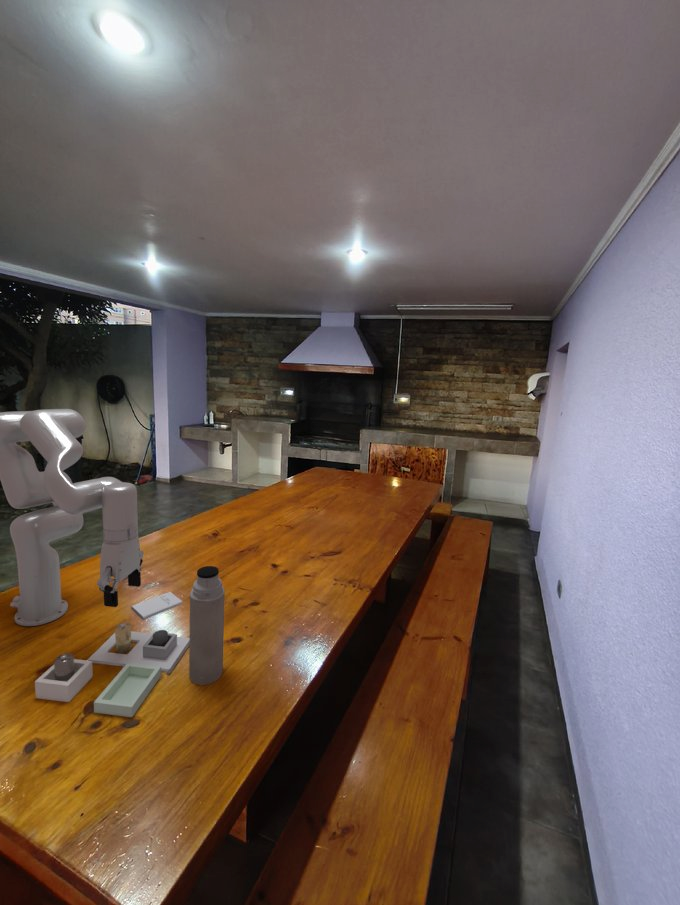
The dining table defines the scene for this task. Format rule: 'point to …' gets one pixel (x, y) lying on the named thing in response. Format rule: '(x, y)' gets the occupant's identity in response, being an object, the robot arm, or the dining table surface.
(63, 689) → the white open box
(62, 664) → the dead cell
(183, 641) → the checker
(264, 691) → the dining table surface
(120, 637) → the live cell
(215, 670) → the thermos bottle
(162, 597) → the external hard drive
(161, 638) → the test button
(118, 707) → the pale green trough
